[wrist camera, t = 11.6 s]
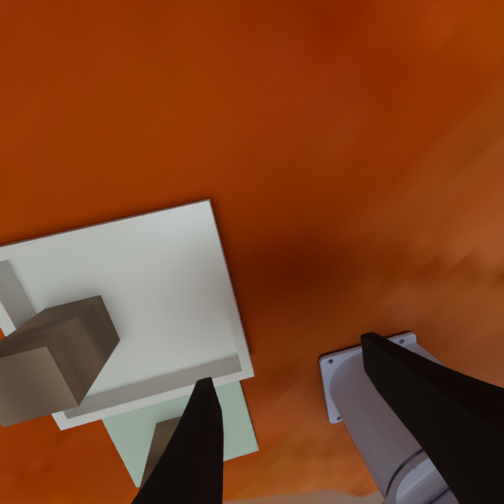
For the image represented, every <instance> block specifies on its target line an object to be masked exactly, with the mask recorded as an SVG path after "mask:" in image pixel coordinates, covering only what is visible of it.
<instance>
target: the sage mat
mask: <svg viewBox="0 0 504 504" xmlns="http://www.w3.org/2000/svg"><path fill="white" fill-rule="evenodd" d="M215 390H216V393H217V397H218V400H219V403H220V406H221V409H222V417H223V430H224V458H223V461H225V460H228V459H232V458H235V457H238V456H242V455H245V454H248V453H252V452H255V451H258V450H259V449H258V443H257V440H256V436H255V433H254V429H253V426H252V422H251V418H250V415H249V411H248V408H247V404H246V401H245V397H244V394H243V390H242V386H241V383H240V380H239V381H235V382H232V383H228V384H224V385H221V386H217V387H215ZM190 396H191V394H189V395H185V396H182V397H178V398H174V399H171V400H167V401H164V402H160V403H156V404H153V405H149V406H146V407H142V408H139V409H135V410H131V411H128V412H124V413H121V414H117V415H114V416H110V417H106V418H103V419H102V421H103V423H104V425H105V427H106V429H107V431H108V433H109V435H110V436H111V438H112V440H113V442H114V444H115V446H116V448H117V450H118V452H119V454H120V456H121V458H122V460H123V462H124V464H125V466H126V468H127V470H128V472H129V473H130V475H131V477H132V479H133V481H134V483H135V485H136V487H139V486H140V484H141V481H142V477H143V473H144V469H145V465H146V461H147V457H148V453H149V450H150V446H151V442H152V438H153V434H154V430H155V426H156V423H158V422H162V421H165V420H169V419H172V418H176V417H180V416H182V414H183V412H184V410H185V408H186V405H187V403H188V401H189V399H190Z"/></svg>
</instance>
